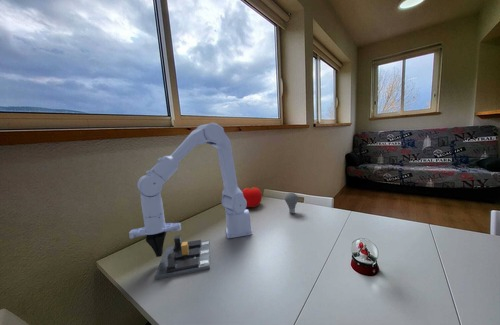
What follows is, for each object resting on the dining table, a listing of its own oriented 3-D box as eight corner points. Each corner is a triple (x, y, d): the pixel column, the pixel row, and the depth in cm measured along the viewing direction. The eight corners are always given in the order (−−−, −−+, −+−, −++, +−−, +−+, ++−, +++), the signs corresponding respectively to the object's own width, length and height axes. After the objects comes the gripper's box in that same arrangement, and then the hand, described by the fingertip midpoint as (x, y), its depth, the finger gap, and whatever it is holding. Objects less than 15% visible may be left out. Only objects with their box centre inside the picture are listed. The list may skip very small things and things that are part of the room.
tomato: (239, 210, 103) (237, 190, 101) (244, 202, 115) (242, 184, 113) (261, 210, 101) (259, 190, 100) (263, 201, 113) (262, 183, 111)
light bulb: (298, 215, 91) (298, 194, 89) (285, 215, 92) (284, 194, 91) (298, 210, 97) (297, 190, 95) (285, 210, 98) (284, 191, 96)
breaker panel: (209, 242, 73) (208, 229, 72) (209, 269, 59) (207, 252, 58) (166, 250, 70) (164, 236, 70) (155, 279, 56) (152, 262, 55)
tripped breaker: (188, 250, 65) (187, 241, 65) (188, 254, 63) (186, 245, 63) (183, 251, 65) (181, 242, 65) (182, 255, 63) (181, 246, 62)
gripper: (180, 206, 66) (185, 244, 68) (132, 212, 63) (139, 251, 65) (176, 214, 59) (182, 256, 61) (123, 221, 56) (130, 265, 58)
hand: (159, 254), depth 63 cm, fingers closed
